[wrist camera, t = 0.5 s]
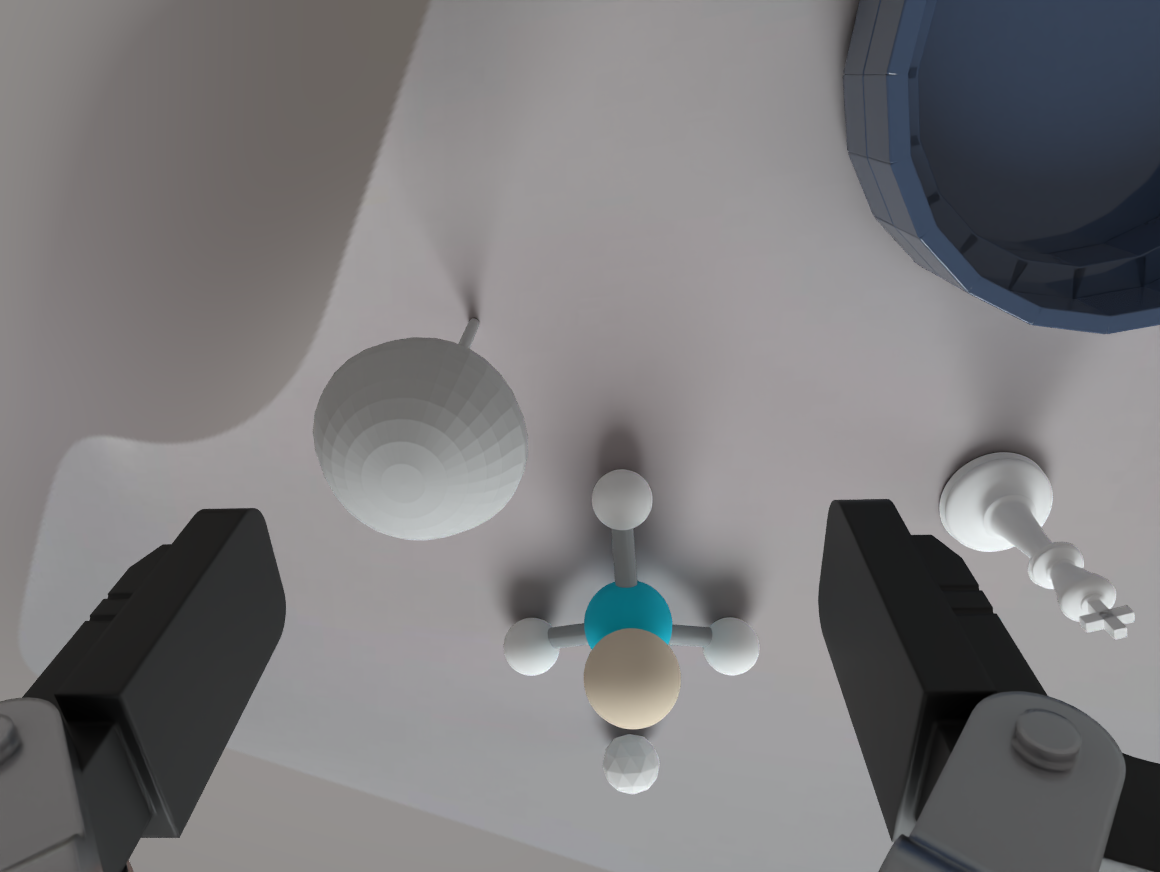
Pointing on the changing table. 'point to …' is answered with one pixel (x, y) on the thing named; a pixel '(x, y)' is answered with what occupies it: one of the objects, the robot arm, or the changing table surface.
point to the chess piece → (1027, 535)
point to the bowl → (1016, 150)
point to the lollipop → (421, 437)
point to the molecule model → (629, 626)
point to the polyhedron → (631, 764)
